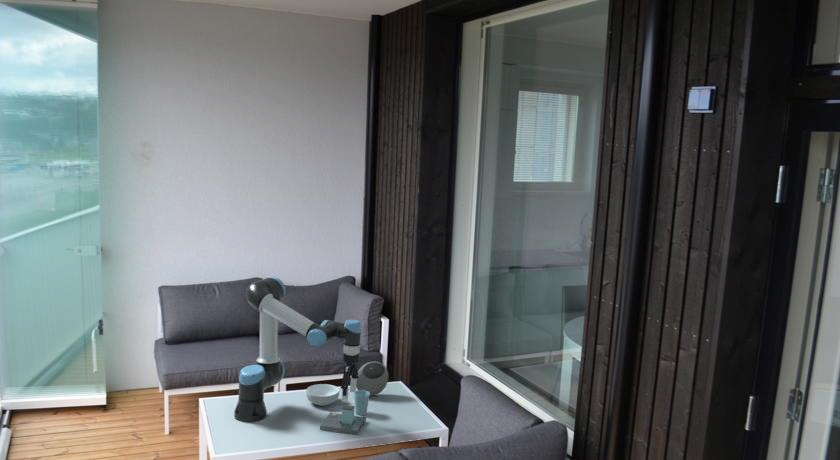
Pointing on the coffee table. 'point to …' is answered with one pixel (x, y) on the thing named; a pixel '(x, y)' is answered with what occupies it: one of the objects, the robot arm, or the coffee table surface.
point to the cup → (361, 401)
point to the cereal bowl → (322, 394)
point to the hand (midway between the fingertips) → (348, 396)
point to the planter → (372, 378)
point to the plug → (347, 415)
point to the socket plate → (334, 424)
